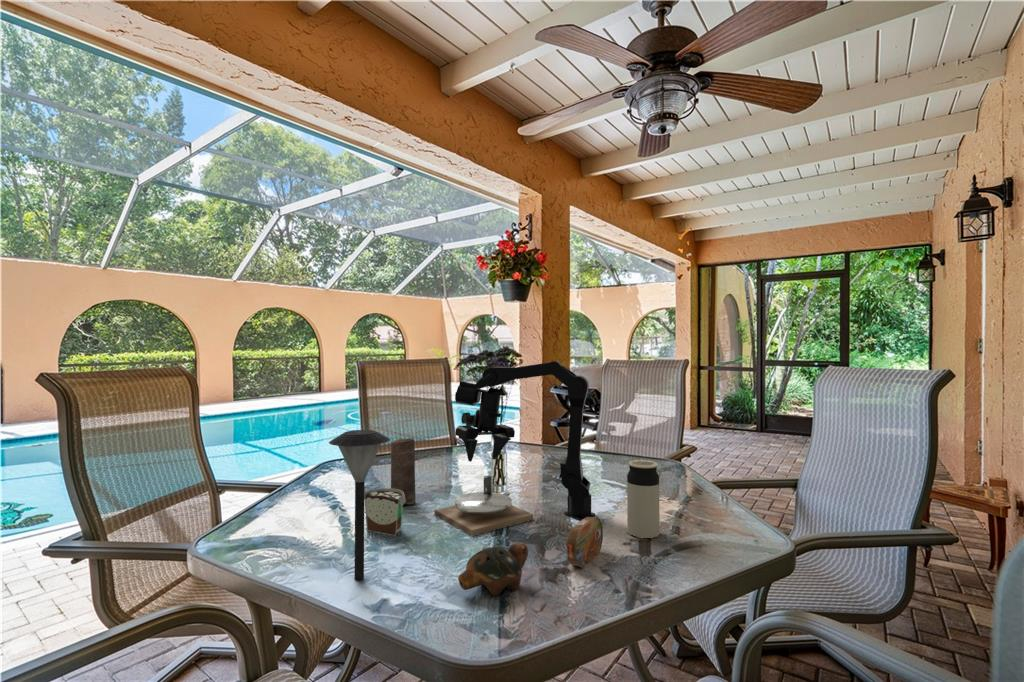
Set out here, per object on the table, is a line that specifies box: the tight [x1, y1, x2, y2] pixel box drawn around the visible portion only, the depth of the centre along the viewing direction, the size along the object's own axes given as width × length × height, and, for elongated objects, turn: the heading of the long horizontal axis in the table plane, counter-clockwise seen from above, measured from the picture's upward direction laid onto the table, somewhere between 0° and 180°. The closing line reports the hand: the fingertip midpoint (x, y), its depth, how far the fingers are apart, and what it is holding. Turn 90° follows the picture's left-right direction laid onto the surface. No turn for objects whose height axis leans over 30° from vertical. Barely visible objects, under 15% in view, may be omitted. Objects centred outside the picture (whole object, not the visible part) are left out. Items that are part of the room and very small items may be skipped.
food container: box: [364, 487, 406, 537], centre depth 128 cm, size 12×6×10 cm, turn 65°
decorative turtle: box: [457, 542, 529, 597], centre depth 96 cm, size 10×15×8 cm, turn 125°
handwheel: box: [454, 475, 513, 514], centre depth 138 cm, size 16×16×8 cm
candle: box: [390, 437, 416, 505], centre depth 150 cm, size 8×7×20 cm
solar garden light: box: [328, 429, 391, 582], centre depth 100 cm, size 12×12×30 cm
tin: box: [566, 516, 604, 569], centre depth 110 cm, size 15×3×8 cm, turn 148°
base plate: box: [434, 504, 534, 537], centre depth 137 cm, size 20×20×2 cm
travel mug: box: [626, 459, 661, 539], centre depth 125 cm, size 8×8×18 cm
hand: (482, 460), depth 146 cm, fingers open, 9 cm apart
